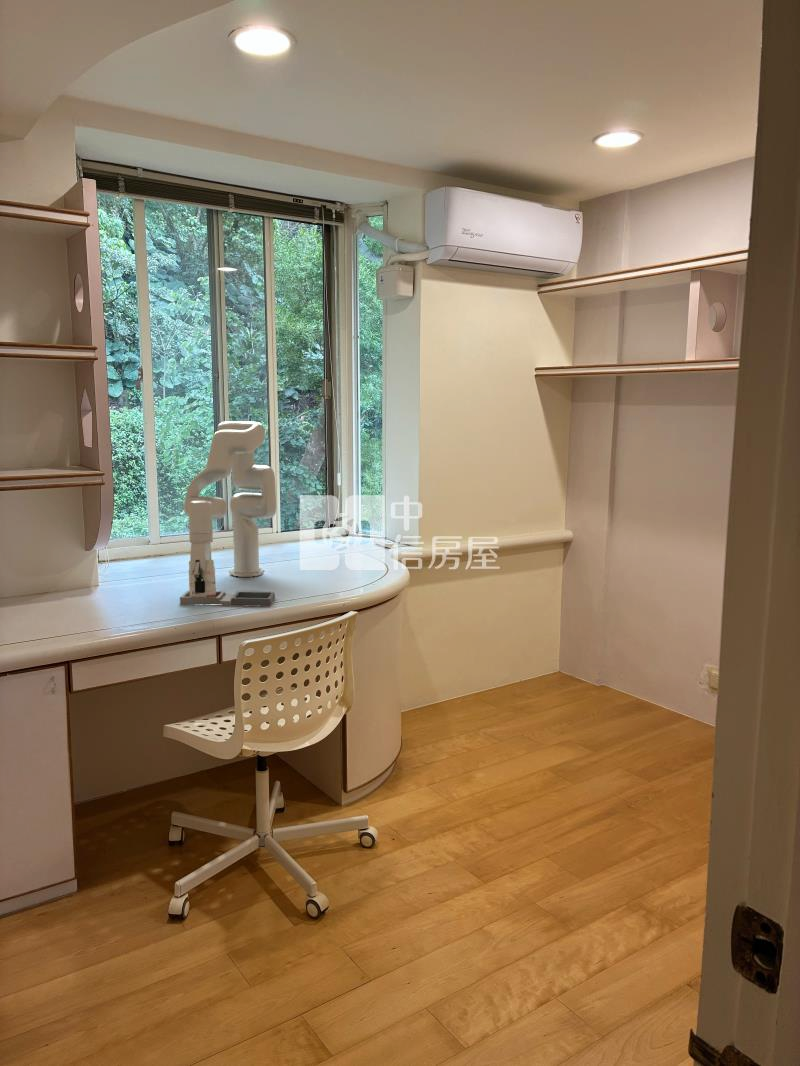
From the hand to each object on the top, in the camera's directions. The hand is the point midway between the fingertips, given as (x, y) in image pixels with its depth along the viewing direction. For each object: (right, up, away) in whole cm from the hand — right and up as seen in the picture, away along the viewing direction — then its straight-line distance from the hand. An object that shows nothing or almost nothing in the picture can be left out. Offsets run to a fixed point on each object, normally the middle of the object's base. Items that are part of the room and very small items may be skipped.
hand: (202, 589), depth 267 cm
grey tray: (+15, -4, 0) cm, 16 cm away
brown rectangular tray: (0, -4, +1) cm, 4 cm away
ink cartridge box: (0, -4, +1) cm, 4 cm away
